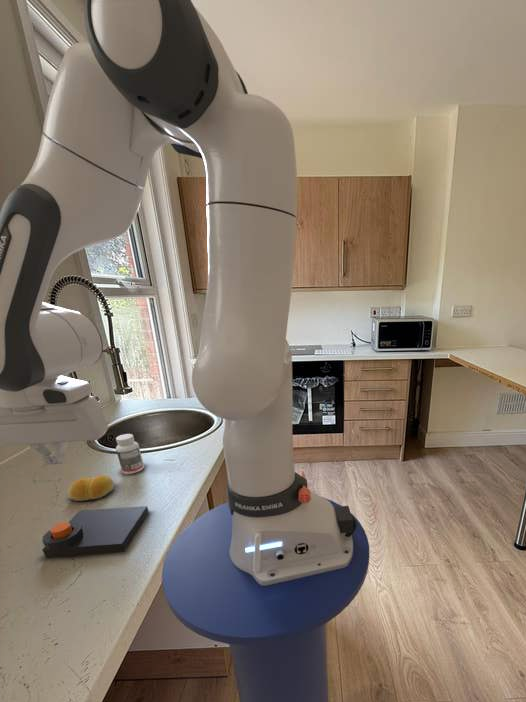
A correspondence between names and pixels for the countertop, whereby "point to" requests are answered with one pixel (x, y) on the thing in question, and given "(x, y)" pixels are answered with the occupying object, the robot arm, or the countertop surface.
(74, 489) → the bread roll
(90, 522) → the scale
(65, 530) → the button
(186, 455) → the countertop surface
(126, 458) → the pill bottle
